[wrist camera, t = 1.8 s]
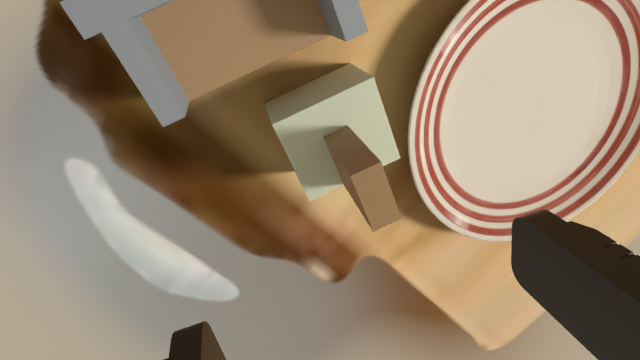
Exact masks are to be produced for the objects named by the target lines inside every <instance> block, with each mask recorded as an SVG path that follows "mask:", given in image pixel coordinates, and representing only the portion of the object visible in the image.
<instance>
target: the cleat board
mask: <svg viewBox="0 0 640 360" xmlns="http://www.w3.org/2000/svg"><path fill="white" fill-rule="evenodd" d="M60 4H61V6H62V7H63V9H64V10H65V12H66V13H67V15H68V16H69V18H70V19H71V21H72V22H73V24H74V25H75V27H76V28H77V30H78V31H79V33H80V34H81V35H82V37H83V38H84V40H86V39H88V38H91V37H94V36H97V35H99V34H103V36H104V37H105V39H106V40H107V42H108V43H109V45H110V46H111V48H112V49H113V51H114V52H115V54H116V56H117V57H118V59H119V60H120V62H121V63H122V65H123V66H124V68H125V69H126V71H127V73H128V74H129V76H130V77H131V79H132V80H133V82H134V83H135V85H136V86H137V88H138V90H139V91H140V93H141V94H142V96H143V97H144V99H145V100H146V102H147V103H148V105H149V107H150V108H151V110H152V111H153V113H154V114H155V116H156V117H157V119H158V120H159V122H160V123H161V125H162V127H165V126H167V125H169V124H171V123H173V122H175V121H178V120H180V119H182V118H184V117H185V116H186V112H187V109H188V105H189V102H190V101H191V100H193V99H195V98H197V97H199V96H201V95H204V94H206V93H208V92H210V91H212V90H214V89H216V88H219V87H221V86H223V85H225V84H227V83H229V82H231V81H234V80H236V79H238V78H240V77H242V76H244V75H246V74H248V73H251V72H253V71H255V70H257V69H259V68H261V67H263V66H266V65H268V64H270V63H272V62H274V61H276V60H278V59H281V58H283V57H285V56H287V55H289V54H291V53H293V52H296V51H298V50H300V49H302V48H304V47H306V46H308V45H311V44H313V43H315V42H317V41H319V40H321V39H323V38H325V37H328V36H330V35H332V36H334V37H337V38H339V39H341V40H344V41H348V40H350V39H353V38H355V37H357V36H359V35H361V34H363V33H365V32H368V30H367V27H366V24H365V20H364V17H363V14H362V11H361V8H360V5H359V2H358V0H64V1H62V2H60Z"/></svg>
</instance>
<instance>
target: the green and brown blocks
mask: <svg viewBox="0 0 640 360" xmlns="http://www.w3.org/2000/svg"><path fill="white" fill-rule="evenodd" d="M264 105H265V108H266V110H267V113H268V116H269V118H270V121H271V124H272V126H273V128H274V130H275V132H276V134H277V136H278V138H279V140H280V142H281V144H282V146H283V148H284V150H285V152H286V154H287V156H288V158H289V160H290V163H291V165H292V167H293V169H294V171H295V173H296V175H297V177H298V179H299V181H300V183H301V185H302V187H303V189H304V191H305V193H306V195H307V197H308V199H309V201H311V200H314V199H316V198H318V197H320V196H322V195H324V194H326V193H328V192H330V191H332V190H335V189H337V188H339V187H341V186H343V185H344V186H345V187H346V189H347V191H348V192H349V194H350V195H351V197H352V199H353V200H354V202H355V203H356V205H357V207H358V208H359V210H360V211H361V213H362V215H363V216H364V218H365V219H366V221H367V223H368V224H369V226H370V227H371V229H372V231H373V232H374V231H376V230H378V229H380V228H382V227H384V226H386V225H388V224H391V223H393V222H395V221H397V220H399V219H401V215H400V212H399V210H398V207H397V204H396V201H395V199H394V196H393V193H392V190H391V187H390V185H389V182H388V179H387V176H386V174H385V171H384V168H383V166H385V165H387V164H389V163H391V162H393V161H396V160H398V159H400V155H399V152H398V149H397V146H396V143H395V140H394V137H393V134H392V131H391V127H390V124H389V121H388V118H387V115H386V112H385V109H384V106H383V103H382V100H381V97H380V94H379V91H378V88H377V85H376V82H375V79H374V77H373V76H371V75H370V74H368V73H366V72H364V71H363V70H361V69H359V68H357V67H356V66H354V65H352V64H350V63H349V64H347V65H345V66H343V67H341V68H339V69H336V70H334V71H332V72H330V73H328V74H326V75H324V76H322V77H319V78H317V79H315V80H313V81H311V82H309V83H307V84H304V85H302V86H300V87H298V88H296V89H294V90H292V91H290V92H287V93H285V94H283V95H281V96H279V97H277V98H275V99H273V100H270V101H268V102H266V103H264Z"/></svg>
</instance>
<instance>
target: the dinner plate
mask: <svg viewBox="0 0 640 360" xmlns="http://www.w3.org/2000/svg"><path fill="white" fill-rule="evenodd" d="M639 149H640V0H469V1H468V2H467V3H466V4H465V5H464V6H463V7H462V8H461V9H460V11H459V12H458V13H457V14H456V15H455V17H454V18H453V19H452V20H451V22H450V23H449V24H448V26H447V27H446V29H445V30H444V32H443V33H442V35H441V36H440V38H439V40H438V41H437V43H436V45H435V46H434V48H433V50H432V52H431V53H430V55H429V57H428V59H427V61H426V64H425V66H424V68H423V71H422V73H421V76H420V78H419V81H418V84H417V87H416V90H415V94H414V98H413V102H412V107H411V112H410V117H409V126H408V155H409V163H410V168H411V173H412V177H413V180H414V184H415V186H416V189H417V191H418V193H419V195H420V197H421V199H422V201H423V202H424V204H425V205H426V207H427V208H428V209H429V210H430V212H431V213H432V214H433V215H434V216H435V217H436V218H437V219H438V220H439V221H440V222H442V223H443V224H444V225H446V226H447V227H449V228H450V229H452V230H454V231H456V232H458V233H460V234H462V235H465V236H467V237H470V238H474V239H479V240H484V241H511V240H512V222H513V220H514V219H515V218H517V217H520V216H523V215H526V214H529V213H532V212H535V211H538V210H542V209H546V210H548V211H550V212H552V213H554V214H555V215H557V216H558V217H560V218H561V219H563V220H564V221H567V220H569V219H571V218H572V217H574V216H575V215H577V214H578V213H580V212H581V211H583V210H584V209H585V208H587V207H588V206H589V205H591V204H592V203H593V202H594V201H595V200H597V199H598V198H599V197H600V196H601V195H602V194H603V193H604V192H605V191H606V190H607V189H608V188H609V187H610V186H611V185H612V184H613V183H614V182H615V181H616V180H617V179H618V178H619V176H620V175H621V174H622V173H623V172H624V170H625V169H626V168H627V167H628V165H629V164H630V163H631V161H632V160H633V158H634V157H635V155H636V154H637V152H638V151H639Z"/></svg>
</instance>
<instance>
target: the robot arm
mask: <svg viewBox="0 0 640 360" xmlns="http://www.w3.org/2000/svg"><path fill="white" fill-rule="evenodd" d="M511 264H512V270H513V273H514V275H515V277H516V279H517V281H518V282H519V284H520V285H521V286H522V287H523V288H524V289H525V290H526V291H527V292H528V293H529V294H530V295H531V296H532V297H533V298H534V299H535V300H536V301H537V302H538V303H539V304H540V305H541V306H542V307H543V308H545V309H546V310H547V311H548V312H549V313H550V314H551V315H552V316H553V317H554V318H555V319H556V320H557V321H558V322H559V323H560V324H561V325H562V326H563V327H564V328H565V329H567V330H568V331H569V332H570V333H571V334H572V335H573V336H574V337H575V338H576V339H577V340H578V341H579V342H580V343H581V344H582V345H583V346H584V347H585V348H586V349H587V350H589V351H590V352H591V353H592V354H593V355H594V356H595V357H596V358H597V359H598V360H640V256H638V255H636V256H635V255H634V254H633V252H631V251H630V250H628V249H627V248H625V247H624V246H622V245H617V244H616V242H615V241H614V240H612V239H611V238H609V237H607V236H606V235H604V234H602V233H601V232H599V231H598V230H596V229H593V228H590V227H587V226H584V225H581V224H578V223H575V222H572V221H571V222H566V221H564V220H563V219H561V218H560V217H558V216H557V215H555V214H554V213H552V212H550V211H548V210H546V209H542V210H538V211H535V212H532V213H529V214H526V215H523V216H520V217H517V218H515V219H514V220H513V222H512V257H511ZM164 360H226V358H225V356H224V354H223V352H222V350H221V348H220V346H219V344H218V342H217V340H216V338H215V335H214V333H213V331H212V329H211V327H210V325H209V324H208V323H207V322H206V321H204V322H201V323H198V324H195V325H193V326H190V327H187V328H184V329H181V330H178V331H175V332H174V333H173V335H172V338H171V345H170V353H169V358H167V359H164Z"/></svg>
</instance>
